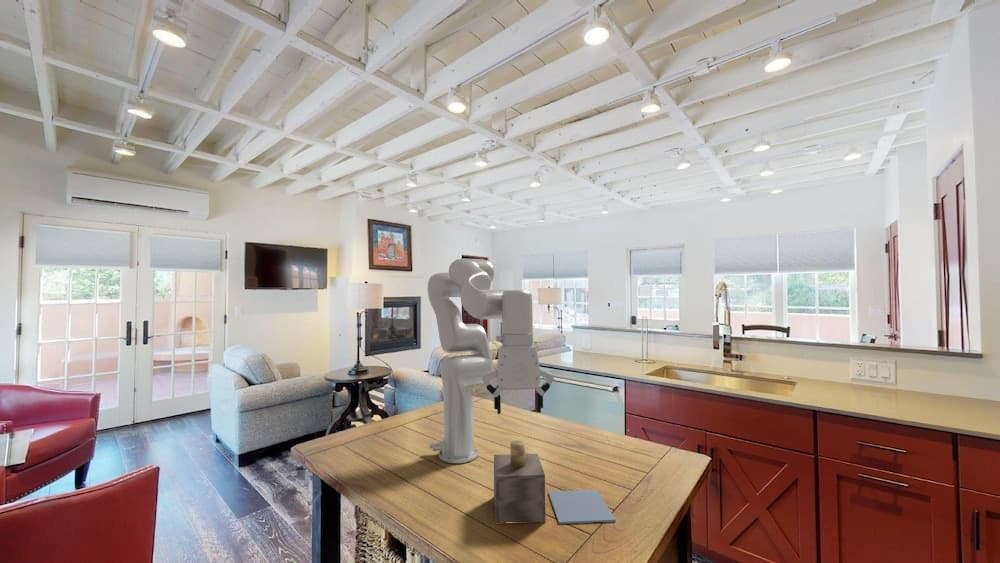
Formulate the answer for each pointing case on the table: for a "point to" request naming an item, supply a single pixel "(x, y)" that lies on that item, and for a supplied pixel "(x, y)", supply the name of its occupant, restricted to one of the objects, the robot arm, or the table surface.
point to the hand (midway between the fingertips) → (518, 411)
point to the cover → (519, 486)
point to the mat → (580, 507)
